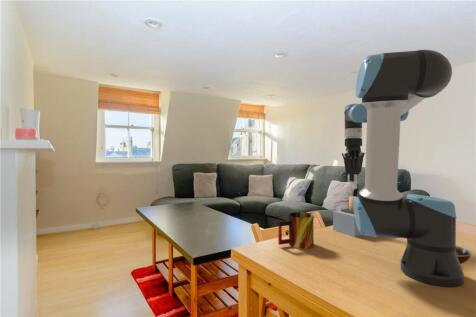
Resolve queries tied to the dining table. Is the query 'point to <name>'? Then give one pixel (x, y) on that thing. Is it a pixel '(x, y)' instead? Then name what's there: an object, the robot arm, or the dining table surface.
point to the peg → (351, 203)
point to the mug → (298, 230)
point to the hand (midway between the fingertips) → (353, 188)
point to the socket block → (345, 222)
